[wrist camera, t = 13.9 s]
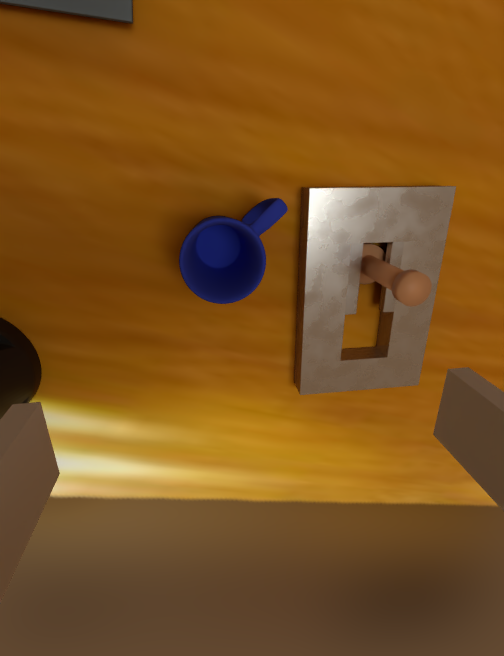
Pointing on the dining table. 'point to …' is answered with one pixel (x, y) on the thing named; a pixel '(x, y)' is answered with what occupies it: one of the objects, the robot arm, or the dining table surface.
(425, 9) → the dining table surface
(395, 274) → the headed peg
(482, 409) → the robot arm
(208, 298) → the mug
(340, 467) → the dining table surface
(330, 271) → the keyhole plate
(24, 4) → the desk lamp
